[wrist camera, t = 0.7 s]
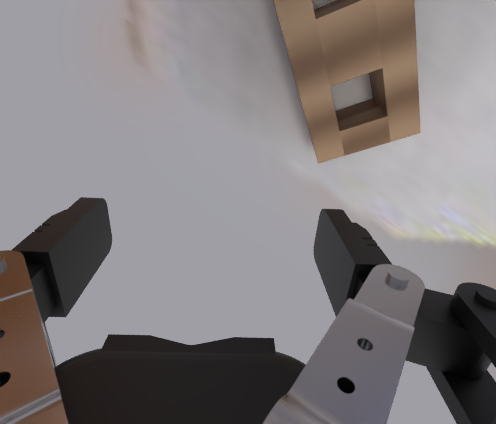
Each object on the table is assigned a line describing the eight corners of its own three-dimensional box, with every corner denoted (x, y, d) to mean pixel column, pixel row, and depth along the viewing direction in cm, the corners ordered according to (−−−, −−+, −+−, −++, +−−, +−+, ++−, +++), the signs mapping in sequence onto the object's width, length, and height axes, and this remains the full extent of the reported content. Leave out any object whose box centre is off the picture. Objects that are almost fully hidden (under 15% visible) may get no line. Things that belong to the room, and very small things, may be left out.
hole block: (253, -73, 25) (251, -81, 21) (381, -139, 23) (406, -162, 19) (312, 142, 36) (318, 163, 32) (402, 113, 34) (420, 132, 30)
